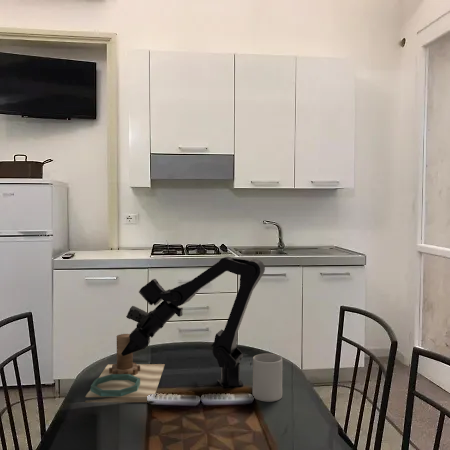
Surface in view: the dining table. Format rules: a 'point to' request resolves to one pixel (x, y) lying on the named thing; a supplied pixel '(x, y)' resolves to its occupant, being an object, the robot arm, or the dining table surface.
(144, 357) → the dining table surface
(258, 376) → the mug
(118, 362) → the gear
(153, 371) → the gear board
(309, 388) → the dining table surface
